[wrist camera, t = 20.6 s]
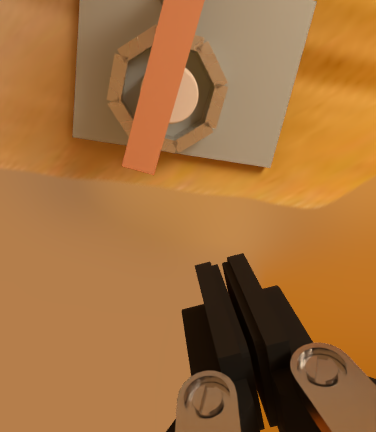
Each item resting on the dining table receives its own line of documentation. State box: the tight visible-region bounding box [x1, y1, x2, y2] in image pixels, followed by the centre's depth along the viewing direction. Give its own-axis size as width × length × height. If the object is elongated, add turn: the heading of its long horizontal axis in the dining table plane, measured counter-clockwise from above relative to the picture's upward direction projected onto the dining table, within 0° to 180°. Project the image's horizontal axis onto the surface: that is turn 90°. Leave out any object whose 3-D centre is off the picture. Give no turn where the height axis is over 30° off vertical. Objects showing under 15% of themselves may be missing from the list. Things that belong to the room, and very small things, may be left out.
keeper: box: [122, 0, 205, 175], centre depth 23 cm, size 16×4×2 cm, turn 162°
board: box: [73, 0, 317, 168], centre depth 29 cm, size 21×17×10 cm
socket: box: [107, 24, 228, 154], centre depth 32 cm, size 10×10×2 cm
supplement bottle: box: [140, 68, 199, 124], centre depth 29 cm, size 5×5×8 cm
